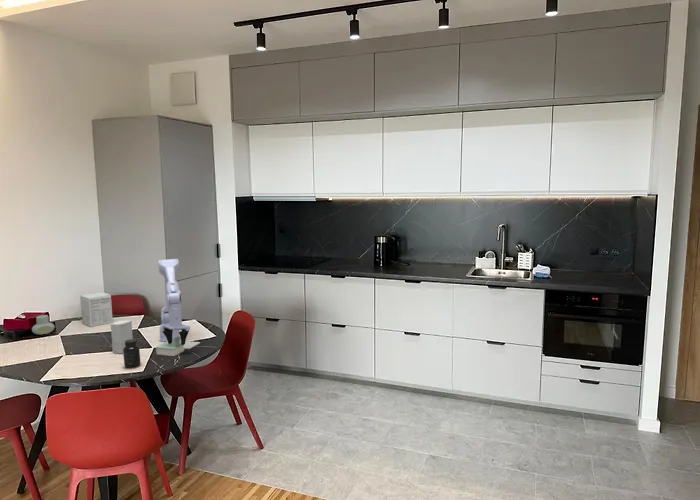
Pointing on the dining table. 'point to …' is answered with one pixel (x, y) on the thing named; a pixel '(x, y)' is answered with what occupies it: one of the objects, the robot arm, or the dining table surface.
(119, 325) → the skincare box
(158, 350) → the tub
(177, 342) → the lid
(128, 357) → the supplement bottle
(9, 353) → the dining table surface
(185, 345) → the mat
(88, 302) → the supplement box
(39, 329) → the air freshener
